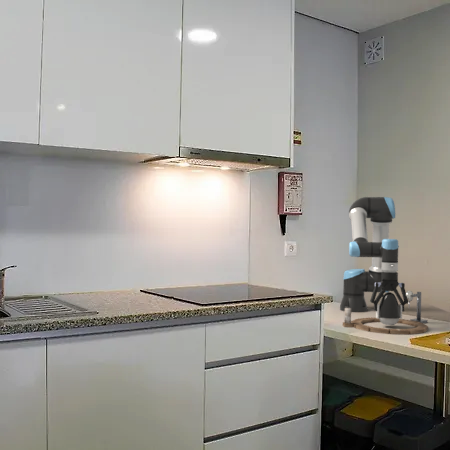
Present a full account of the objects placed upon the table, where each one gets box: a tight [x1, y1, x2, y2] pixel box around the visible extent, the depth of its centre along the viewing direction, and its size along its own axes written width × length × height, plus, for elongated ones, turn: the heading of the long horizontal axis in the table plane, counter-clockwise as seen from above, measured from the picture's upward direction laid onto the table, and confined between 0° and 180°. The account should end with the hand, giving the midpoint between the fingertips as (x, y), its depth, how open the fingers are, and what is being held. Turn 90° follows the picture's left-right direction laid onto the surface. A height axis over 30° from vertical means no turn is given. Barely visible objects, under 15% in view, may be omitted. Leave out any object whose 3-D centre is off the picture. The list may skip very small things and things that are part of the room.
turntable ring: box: [342, 308, 429, 335], centre depth 262 cm, size 34×38×8 cm
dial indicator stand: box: [405, 290, 428, 324], centre depth 274 cm, size 14×6×16 cm, turn 126°
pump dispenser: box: [379, 291, 400, 326], centre depth 262 cm, size 10×10×15 cm
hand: (388, 318), depth 262 cm, fingers closed on pump dispenser, 10 cm apart
